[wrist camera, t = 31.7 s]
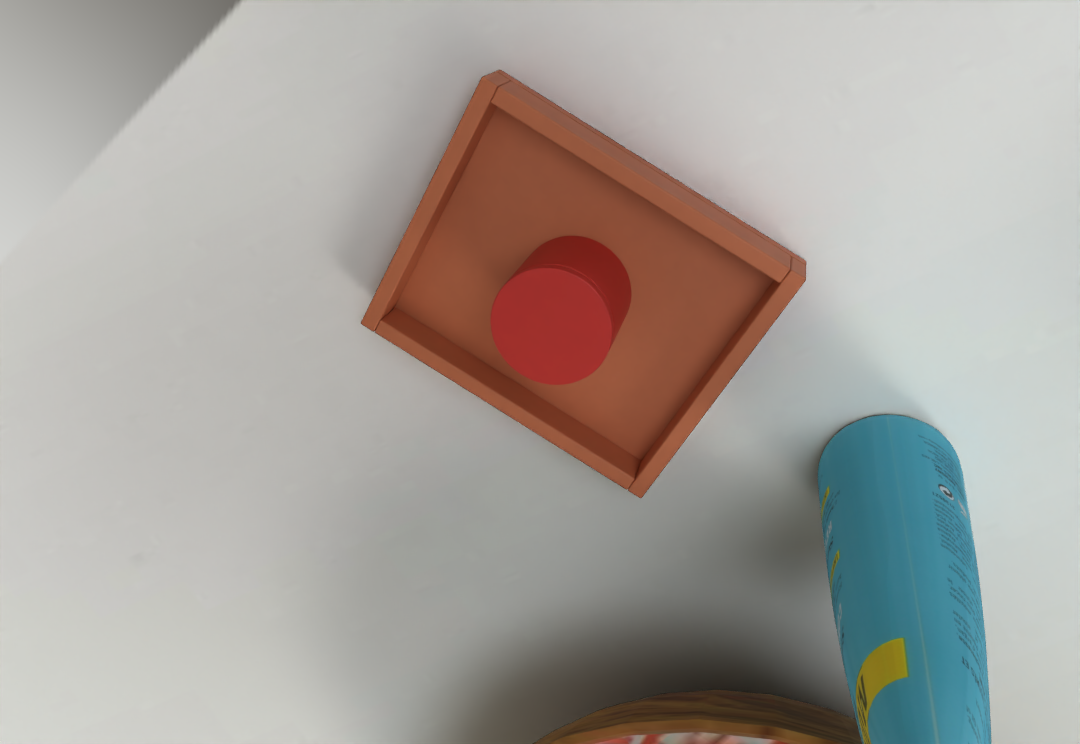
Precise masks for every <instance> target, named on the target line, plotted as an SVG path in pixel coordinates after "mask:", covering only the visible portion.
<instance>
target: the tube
mask: <svg viewBox="0 0 1080 744" xmlns="http://www.w3.org/2000/svg"><path fill="white" fill-rule="evenodd" d="M818 487H819V499H820V509H821V519H822V529H823V537H824V546H825V554H826V562H827V570H828V578H829V584H830V591H831V598H832V605H833V611H834V617H835V623H836V628H837V633H838V639H839V644H840V649H841V654H842V659H843V664H844V668H845V673H846V678H847V682H848V686H849V691H850V695H851V699H852V703H853V708H854V712H855V716H856V720H857V725H858V729H859V733H860V737H861V741H862V744H991V725H990V705H989V687H988V671H987V655H986V641H985V630H984V620H983V610H982V601H981V592H980V584H979V576H978V568H977V561H976V554H975V547H974V540H973V533H972V527H971V521H970V514H969V508H968V503H967V497H966V491H965V484H964V479H963V474H962V469H961V465H960V462H959V459H958V456H957V454H956V452H955V450H954V448H953V447H952V445H951V443H950V442H949V441H948V440H947V439H946V438H945V437H944V436H943V435H942V434H941V433H940V432H939V431H938V430H937V429H935V428H934V427H932V426H930V425H928V424H927V423H924V422H922V421H919V420H917V419H913V418H909V417H904V416H899V415H879V416H871V417H868V418H865V419H861V420H858V421H856V422H854V423H852V424H850V425H849V426H847V427H845V428H843V429H842V430H841V431H839V432H838V433H837V434H836V435H835V436H834V437H833V438H832V439H831V441H830V442H829V443H828V445H827V446H826V447H825V449H824V451H823V453H822V456H821V459H820V462H819V467H818Z"/></svg>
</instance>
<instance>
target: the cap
mask: <svg viewBox="0 0 1080 744" xmlns="http://www.w3.org/2000/svg"><path fill="white" fill-rule="evenodd" d="M630 303H631V285H630V280H629V276H628V274H627V271H626V269H625V267H624V266H623V264H622V262H621V261H620V260H619V258H618V257H617V256H616V255H615V254H614V253H613V252H612V251H611V250H610V249H609V248H607V247H606V246H604V245H603V244H601V243H599V242H597V241H595V240H593V239H590V238H586V237H581V236H562V237H558V238H554V239H552V240H549V241H547V242H545V243H544V244H542V245H541V246H539V247H538V248H537V249H536V250H535V251H534V252H533V253H532V254H531V255H530V256H529V257H528V258H527V260H526V261H525V262H524V263H523V264H522V265H521V266H520V267H519V269H518V270H517V271H516V272H515V273H514V274H513V275H512V276H511V278H510V279H509V280H508V281H507V282H506V283H505V284H504V285H503V287H502V288H501V289H500V291H499V292H498V294H497V296H496V298H495V300H494V303H493V305H492V310H491V317H490V324H491V332H492V337H493V340H494V342H495V345H496V347H497V349H498V351H499V353H500V354H501V356H502V357H503V358H504V360H505V361H506V362H507V363H508V364H509V365H510V366H511V367H512V368H513V369H514V370H516V371H517V372H518V373H520V374H521V375H523V376H525V377H526V378H528V379H531V380H533V381H536V382H539V383H543V384H549V385H565V384H570V383H574V382H577V381H580V380H582V379H584V378H586V377H588V376H589V375H591V374H592V373H593V372H594V371H595V370H597V369H598V368H599V366H600V365H601V364H602V363H603V361H604V360H605V358H606V356H607V354H608V352H609V350H610V348H611V346H612V344H613V342H614V340H615V338H616V336H617V334H618V332H619V330H620V328H621V326H622V324H623V321H624V319H625V317H626V315H627V313H628V310H629V307H630Z"/></svg>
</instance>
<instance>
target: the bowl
mask: <svg viewBox="0 0 1080 744" xmlns="http://www.w3.org/2000/svg"><path fill="white" fill-rule="evenodd" d="M533 744H862V741H861V737H860V733H859V729H858V725H857V720H856V719H854V718H851V717H849V716H846V715H844V714H841V713H839V712H836V711H834V710H831V709H829V708H825V707H821V706H817V705H813V704H809V703H805V702H800V701H796V700H792V699H788V698H784V697H780V696H776V695H769V694H758V693H748V692H737V691H726V690H707V691H691V692H676V693H664V694H660V695H656V696H652V697H648V698H643V699H639V700H635V701H631V702H627V703H622V704H618V705H615V706H612V707H608V708H605V709H601V710H598V711H596V712H594V713H592V714H589V715H587V716H585V717H583V718H581V719H578V720H576V721H574V722H572V723H570V724H568V725H565V726H563V727H561V728H559V729H557V730H554V731H553V732H551V733H550V734H548V735H546V736H545V737H543V738H541V739H540V740H538V741H536V742H535V743H533Z"/></svg>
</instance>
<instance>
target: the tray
mask: <svg viewBox="0 0 1080 744" xmlns="http://www.w3.org/2000/svg"><path fill="white" fill-rule="evenodd" d="M562 236H581V237H586V238H590V239H593V240H595V241H597V242H599V243H601V244H603V245H604V246H606V247H607V248H609V249H610V250H611V251H612V252H613V253H614V254H615V255H616V256H617V257H618V258H619V260H620V261H621V262H622V264H623V266H624V267H625V269H626V271H627V274H628V276H629V280H630V285H631V303H630V307H629V310H628V313H627V315H626V317H625V319H624V321H623V324H622V326H621V328H620V330H619V332H618V334H617V336H616V338H615V340H614V342H613V344H612V346H611V348H610V350H609V352H608V354H607V356H606V358H605V360H604V361H603V363H602V364H601V365H600V366H599V368H598V369H597V370H595V371H594V372H593V373H592V374H591V375H589V376H588V377H586V378H584V379H582V380H580V381H577V382H574V383H570V384H565V385H549V384H543V383H539V382H536V381H533V380H531V379H528V378H526V377H525V376H523V375H521V374H520V373H518V372H517V371H516V370H514V369H513V368H512V367H511V366H510V365H509V364H508V363H507V362H506V361H505V360H504V358H503V357H502V356H501V354H500V353H499V351H498V349H497V347H496V345H495V342H494V340H493V337H492V332H491V324H490V317H491V310H492V305H493V303H494V300H495V298H496V296H497V294H498V292H499V291H500V289H501V288H502V287H503V285H504V284H505V283H506V282H507V281H508V280H509V279H510V278H511V276H512V275H513V274H514V273H515V272H516V271H517V270H518V269H519V267H520V266H521V265H522V264H523V263H524V262H525V261H526V260H527V258H528V257H529V256H530V255H531V254H532V253H533V252H534V251H535V250H536V249H537V248H538V247H539V246H541V245H542V244H544V243H545V242H547V241H549V240H552V239H554V238H558V237H562ZM805 281H806V261H805V260H804V259H802V258H801V257H799V256H797V255H796V254H794V253H793V252H791V251H789V250H788V249H786V248H785V247H783V246H781V245H780V244H778V243H777V242H775V241H773V240H772V239H770V238H769V237H767V236H765V235H764V234H762V233H761V232H759V231H757V230H756V229H754V228H753V227H751V226H749V225H748V224H746V223H745V222H743V221H741V220H740V219H738V218H737V217H735V216H733V215H732V214H730V213H729V212H727V211H725V210H724V209H722V208H721V207H719V206H717V205H716V204H714V203H713V202H711V201H709V200H708V199H706V198H705V197H703V196H701V195H700V194H698V193H697V192H695V191H693V190H692V189H690V188H689V187H687V186H685V185H684V184H682V183H681V182H679V181H677V180H676V179H674V178H673V177H671V176H669V175H668V174H666V173H665V172H663V171H661V170H660V169H658V168H657V167H655V166H653V165H652V164H650V163H649V162H647V161H645V160H644V159H642V158H641V157H639V156H638V155H636V154H634V153H633V152H631V151H630V150H628V149H626V148H625V147H623V146H622V145H620V144H618V143H617V142H615V141H614V140H612V139H610V138H609V137H607V136H606V135H604V134H602V133H601V132H599V131H598V130H596V129H594V128H593V127H591V126H590V125H588V124H586V123H585V122H583V121H582V120H580V119H578V118H577V117H575V116H574V115H572V114H570V113H569V112H567V111H566V110H564V109H562V108H561V107H559V106H558V105H556V104H554V103H553V102H551V101H550V100H548V99H546V98H545V97H543V96H542V95H540V94H538V93H537V92H535V91H534V90H532V89H530V88H529V87H527V86H526V85H524V84H522V83H521V82H519V81H518V80H516V79H514V78H513V77H511V76H510V75H508V74H506V73H505V72H503V71H502V70H498V71H496V72H493V73H491V74H488V75H486V76H483V77H482V78H481V80H480V82H479V84H478V86H477V88H476V90H475V92H474V94H473V96H472V98H471V100H470V102H469V104H468V106H467V108H466V110H465V112H464V115H463V117H462V119H461V121H460V123H459V125H458V127H457V129H456V131H455V133H454V135H453V137H452V139H451V141H450V143H449V145H448V147H447V149H446V151H445V153H444V155H443V157H442V159H441V161H440V163H439V165H438V167H437V169H436V171H435V173H434V175H433V177H432V179H431V181H430V183H429V186H428V188H427V190H426V192H425V194H424V196H423V198H422V200H421V202H420V204H419V206H418V208H417V210H416V212H415V214H414V216H413V218H412V220H411V222H410V224H409V226H408V228H407V230H406V232H405V234H404V236H403V238H402V240H401V242H400V244H399V246H398V248H397V250H396V252H395V254H394V257H393V259H392V261H391V263H390V265H389V267H388V269H387V271H386V273H385V275H384V277H383V279H382V281H381V283H380V285H379V287H378V289H377V291H376V293H375V295H374V297H373V299H372V301H371V303H370V305H369V307H368V309H367V311H366V313H365V315H364V317H363V319H362V321H361V324H362V325H364V326H365V327H367V328H369V329H370V330H372V331H375V333H377V334H378V335H380V336H382V337H383V338H385V339H386V340H388V341H390V342H391V343H393V344H394V345H396V346H398V347H399V348H401V349H402V350H404V351H406V352H407V353H409V354H410V355H412V356H414V357H415V358H417V359H418V360H420V361H422V362H423V363H425V364H426V365H428V366H430V367H431V368H433V369H434V370H436V371H438V372H439V373H441V374H442V375H444V376H446V377H447V378H449V379H450V380H452V381H454V382H455V383H457V384H458V385H460V386H462V387H463V388H465V389H466V390H468V391H470V392H471V393H473V394H474V395H476V396H478V397H479V398H481V399H482V400H484V401H486V402H487V403H489V404H490V405H492V406H494V407H495V408H497V409H498V410H500V411H502V412H503V413H505V414H506V415H508V416H509V417H511V418H513V419H514V420H516V421H517V422H519V423H521V424H522V425H524V426H525V427H527V428H529V429H530V430H532V431H533V432H535V433H537V434H538V435H540V436H541V437H543V438H545V439H546V440H548V441H549V442H551V443H553V444H554V445H556V446H557V447H559V448H561V449H562V450H564V451H565V452H567V453H569V454H570V455H572V456H573V457H575V458H577V459H578V460H580V461H581V462H583V463H585V464H586V465H588V466H589V467H591V468H593V469H594V470H596V471H597V472H599V473H601V474H602V475H604V476H605V477H607V478H609V479H610V480H612V481H613V482H615V483H617V484H618V485H620V486H621V487H623V488H625V489H628V491H629V492H631V493H633V494H634V495H636V496H637V497H639V498H642V497H643V496H644V494H645V493H646V492H647V490H648V489H649V488H650V486H651V485H652V484H653V482H654V481H655V480H656V478H657V477H658V476H659V474H660V473H661V472H662V470H663V469H664V468H665V466H666V465H667V464H668V462H669V461H670V460H671V458H672V457H673V456H674V454H675V453H676V452H677V450H678V449H679V448H680V446H681V445H682V444H683V442H684V441H685V440H686V438H687V437H688V436H689V434H690V433H691V432H692V431H693V429H694V428H695V427H696V425H697V424H698V423H699V421H700V420H701V419H702V417H703V416H704V415H705V413H706V412H707V411H708V409H709V408H710V407H711V405H712V404H713V403H714V401H715V400H716V399H717V397H718V396H719V395H720V393H721V392H722V391H723V389H724V388H725V387H726V385H727V384H728V383H729V381H730V380H731V379H732V377H733V376H734V375H735V373H736V372H737V371H738V370H739V368H740V367H741V366H742V364H743V363H744V362H745V360H746V359H747V358H748V356H749V355H750V354H751V352H752V351H753V350H754V348H755V347H756V346H757V344H758V343H759V342H760V340H761V339H762V338H763V336H764V335H765V334H766V332H767V331H768V330H769V328H770V327H771V326H772V324H773V323H774V322H775V320H776V319H777V318H778V316H779V315H780V314H781V312H782V311H783V310H784V308H785V307H786V306H787V305H788V303H789V302H790V301H791V299H792V298H793V297H794V295H795V294H796V293H797V291H798V290H799V289H800V287H801V286H802V285H803V283H804V282H805Z"/></svg>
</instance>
